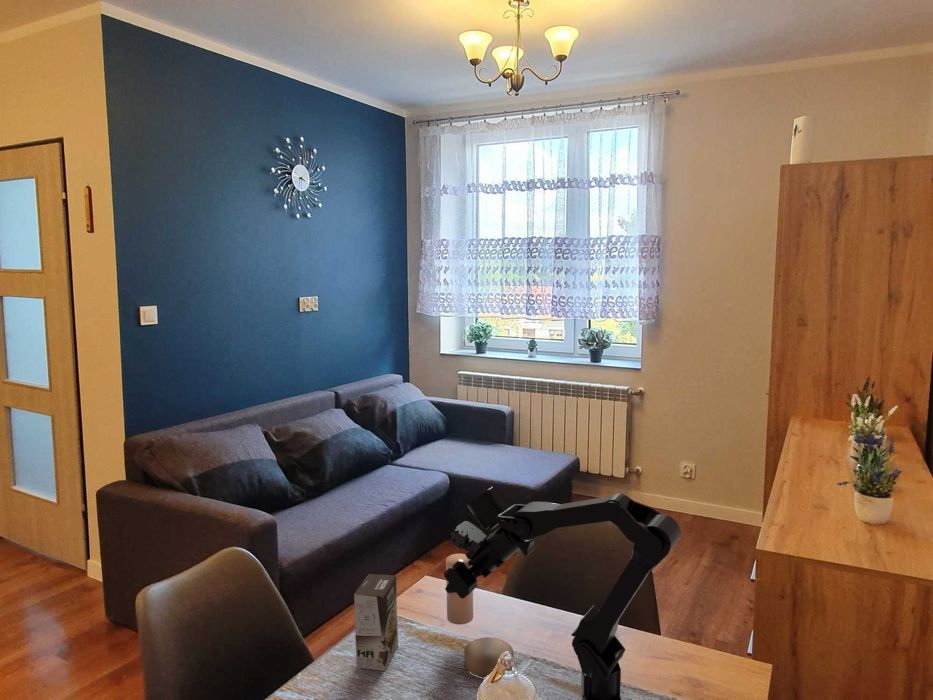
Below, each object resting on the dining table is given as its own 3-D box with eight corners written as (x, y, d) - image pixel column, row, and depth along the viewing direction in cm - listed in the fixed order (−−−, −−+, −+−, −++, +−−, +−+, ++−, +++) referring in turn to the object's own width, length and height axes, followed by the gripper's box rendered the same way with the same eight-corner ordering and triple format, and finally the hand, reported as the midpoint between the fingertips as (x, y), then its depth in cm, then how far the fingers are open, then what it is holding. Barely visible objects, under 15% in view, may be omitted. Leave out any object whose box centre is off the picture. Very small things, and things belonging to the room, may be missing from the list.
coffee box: (385, 671, 132) (383, 597, 130) (355, 668, 133) (352, 594, 131) (399, 645, 141) (397, 574, 138) (370, 642, 142) (368, 572, 140)
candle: (473, 609, 143) (472, 553, 141) (473, 624, 137) (472, 565, 135) (447, 610, 143) (446, 553, 141) (446, 624, 137) (445, 566, 135)
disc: (511, 650, 139) (511, 637, 139) (515, 680, 129) (515, 666, 129) (464, 650, 139) (464, 637, 139) (464, 681, 129) (464, 667, 129)
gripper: (495, 498, 142) (453, 537, 149) (451, 530, 126) (405, 571, 133) (529, 540, 140) (483, 577, 147) (488, 578, 124) (439, 618, 131)
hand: (454, 584), depth 139 cm, fingers closed on candle, 6 cm apart
